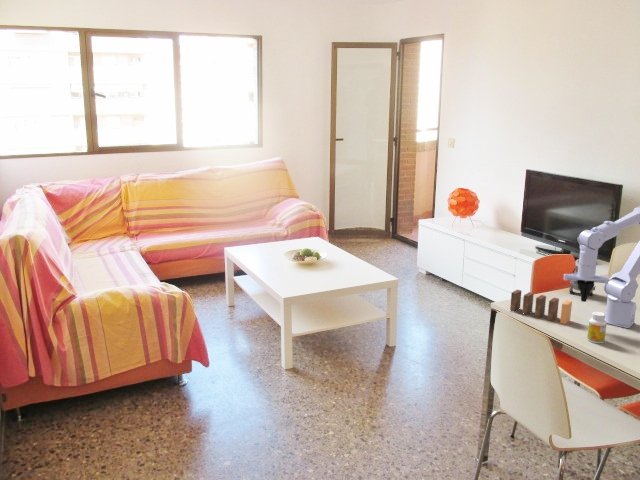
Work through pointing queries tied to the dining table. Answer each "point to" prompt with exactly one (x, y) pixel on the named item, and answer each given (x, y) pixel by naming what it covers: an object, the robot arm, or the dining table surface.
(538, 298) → the tile
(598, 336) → the supplement bottle
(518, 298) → the tile
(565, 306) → the orange tile
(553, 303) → the tile
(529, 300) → the tile
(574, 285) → the figurine
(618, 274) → the robot arm
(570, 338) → the dining table surface
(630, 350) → the dining table surface
